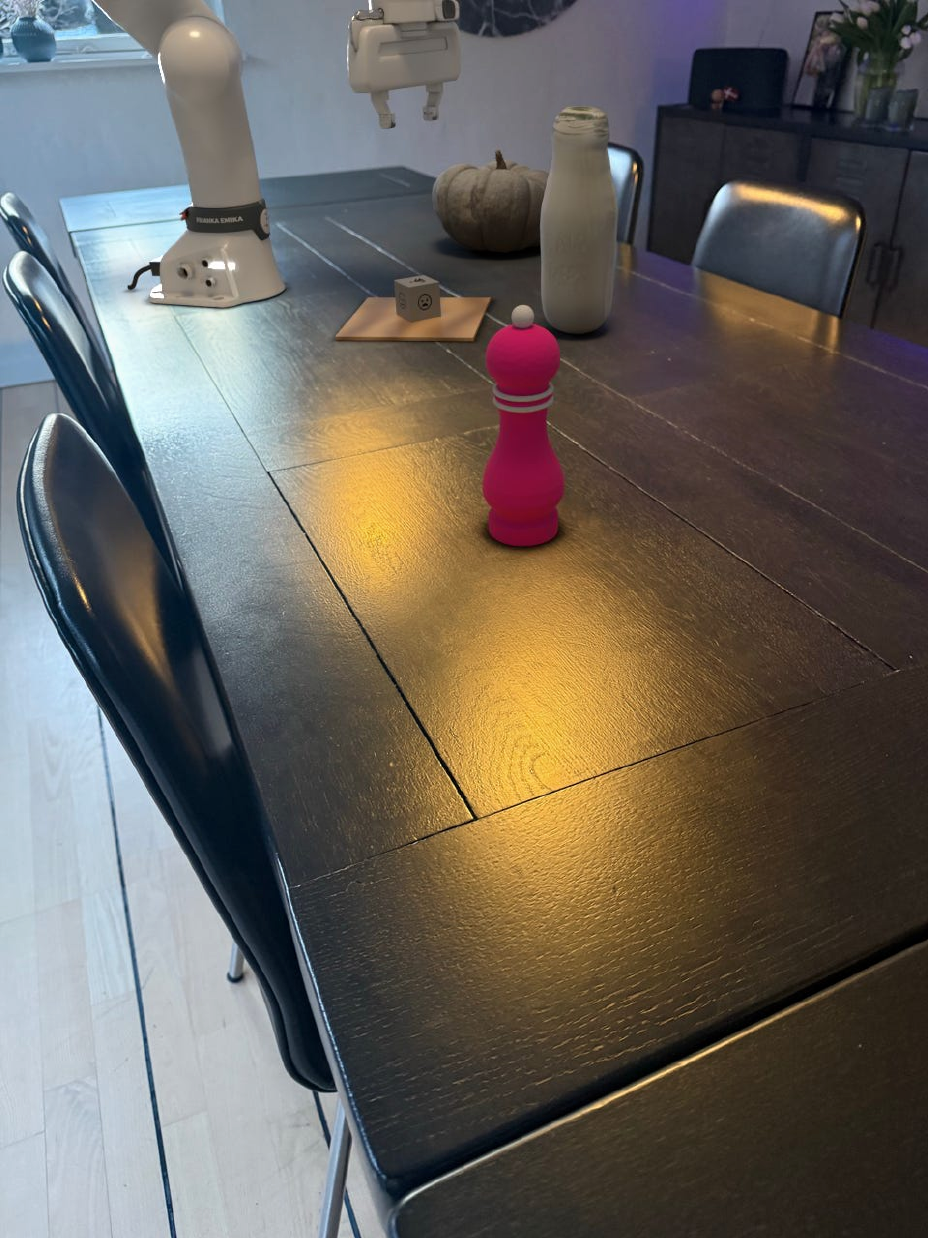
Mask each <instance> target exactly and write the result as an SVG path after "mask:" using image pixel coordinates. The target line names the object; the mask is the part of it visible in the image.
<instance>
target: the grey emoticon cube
mask: <svg viewBox="0 0 928 1238" xmlns="http://www.w3.org/2000/svg"><path fill="white" fill-rule="evenodd" d="M393 282H394V283H393V284H394V296H395V299H396V311H397V315H399V316H401V317H402V318H404V319H406V320H408V321H409V322H416V321H421V320H426V319H431V318H436V317H441V307H440V297H441V290H440V281H438V280H436V279H433V278H431V277H429V276H427V275H425V274H422V275H421V274H420V275H416V276H410V277H405V278H400V279H399V278H398V279H394V280H393Z"/></svg>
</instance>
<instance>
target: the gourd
mask: <svg viewBox="0 0 928 1238" xmlns="http://www.w3.org/2000/svg"><path fill="white" fill-rule="evenodd" d="M494 154H495V155H494V156H495V157H494V159H495V160H493V161H490V162H488V163H487V164H486V165H481V166H479V167H477V166H475V165H472V164H469V163H459V164H455V165H452V166H450V167H448V168H447V169H446V170H444V171H442V172H441V173H439V175H438V176H437V178H436V179H435V181H434V183H433V185H432V186H433V187H432V195H431V197H432V206H433V210H434V213H435V216H436V217H437V220H438V223H439V224H440V225H441V228H442V229H443V230H444V231H445V233H446V234H447V235H448V236H449V237H450V238H451V239H452V240H453V242H454V243H455V244H457V245H458V246H460V247H461V248H463V249H466V250H469V251H480V252H486V251H488V252H491V253H501V254H502V253H503V254H508V253H511V252H521V251H523V250H525V249H526V248H537V247H538V246H541V232H540V222H541V209H542V203H543V199H544V194H545V190H546V185H547V180H548V177H549V173H550V172H549V173H548V172H547V171H546V170H545V171H544V170H540V169H531V168H530V167H528V166H526V165H524V164H518V163H517V162H516V161H513V160H511V159H510V160H509V159H504V157H503V153H502V152H501V149H496V150H494Z"/></svg>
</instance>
